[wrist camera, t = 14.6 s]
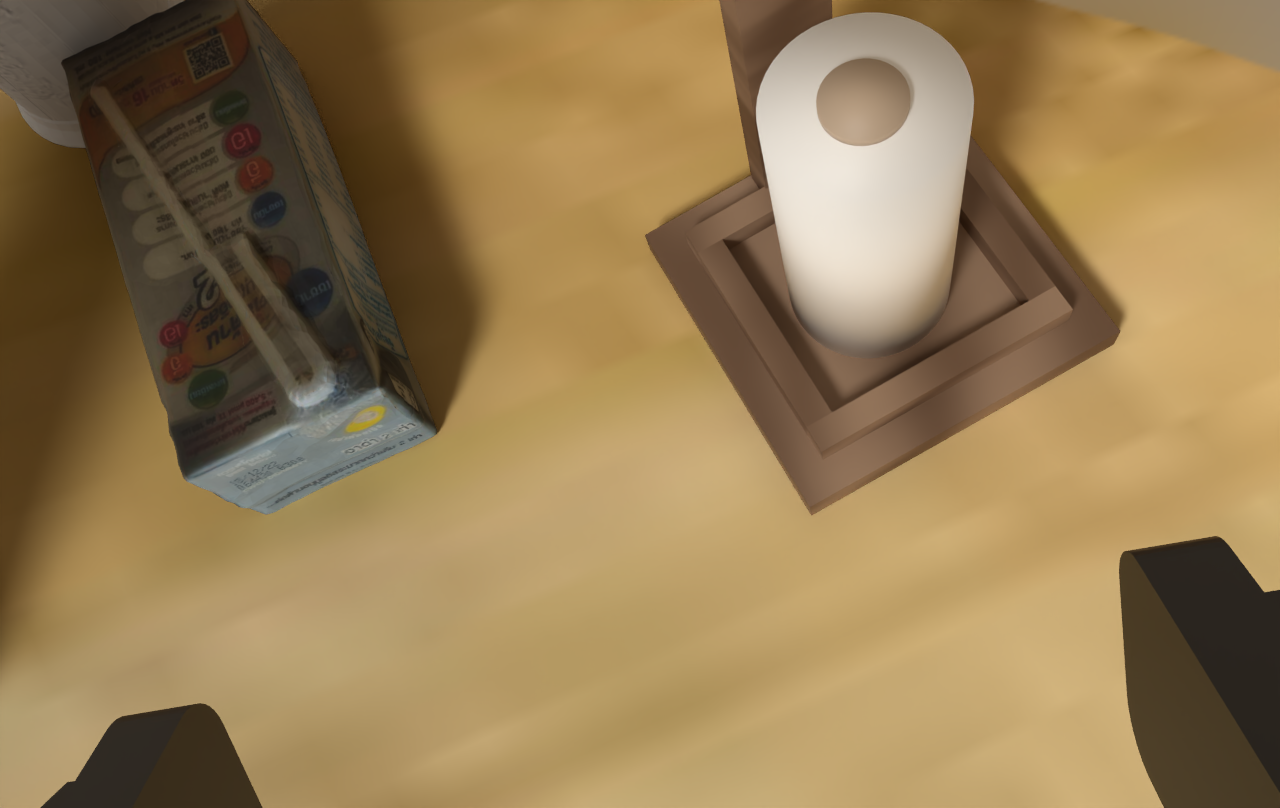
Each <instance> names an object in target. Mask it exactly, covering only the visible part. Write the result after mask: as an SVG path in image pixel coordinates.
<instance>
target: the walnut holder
mask: <svg viewBox="0 0 1280 808" xmlns="http://www.w3.org/2000/svg"><path fill="white" fill-rule="evenodd" d="M720 6H721V11H722V17H723V23H724V28H725V34H726V39H727V45H728V50H729V56H730V61H731V67H732V72H733V78H734V83H735V89H736V94H737V100H738V105H739V111H740V116H741V122H742V127H743V133H744V138H745V144H746V149H747V155H748V160H749V166H750V171H751V176H749V177H747V178H745V179H743V180H742V181H740V182H738V183H736V184H735V185H733V186H731V187H729V188H728V189H726V190H724V191H722V192H720V193H719V194H717V195H715V196H713V197H712V198H710V199H708V200H706V201H705V202H703V203H701V204H699V205H697V206H696V207H694V208H692V209H690V210H689V211H687V212H685V213H683V214H682V215H680V216H678V217H676V218H674V219H673V220H671V221H669V222H667V223H666V224H664V225H662V226H660V227H659V228H657V229H655V230H653V231H651V232H650V233H648V234H646V235H645V237H646V239H647V242H648V245H649V247H650V250H651V251H652V253H653V255H654V256H655V258H656V260H657V261H658V263H659V265H660V266H661V268H662V269H663V271H664V273H665V274H666V276H667V278H668V279H669V281H670V283H671V284H672V286H673V288H674V289H675V291H676V293H677V294H678V296H679V298H680V299H681V301H682V302H683V304H684V306H685V307H686V309H687V311H688V312H689V314H690V316H691V317H692V319H693V321H694V322H695V324H696V326H697V327H698V329H699V331H700V332H701V334H702V335H703V337H704V339H705V340H706V342H707V344H708V345H709V347H710V349H711V350H712V352H713V354H714V355H715V357H716V359H717V360H718V362H719V364H720V365H721V367H722V369H723V370H724V372H725V373H726V375H727V377H728V378H729V380H730V382H731V383H732V385H733V387H734V388H735V390H736V392H737V393H738V395H739V397H740V398H741V400H742V402H743V403H744V405H745V406H746V408H747V410H748V411H749V413H750V415H751V416H752V418H753V420H754V421H755V423H756V425H757V426H758V428H759V430H760V431H761V433H762V435H763V436H764V438H765V439H766V441H767V443H768V444H769V446H770V448H771V449H772V451H773V453H774V454H775V456H776V458H777V459H778V461H779V463H780V464H781V466H782V468H783V469H784V471H785V473H786V474H787V476H788V477H789V479H790V481H791V482H792V484H793V486H794V487H795V489H796V491H797V492H798V494H799V496H800V497H801V499H802V501H803V502H804V504H805V506H806V507H807V509H808V510H809V512H810V514H811V515H813V514H815V513H817V512H818V511H820V510H822V509H824V508H825V507H827V506H829V505H831V504H832V503H834V502H836V501H838V500H840V499H841V498H843V497H845V496H847V495H848V494H850V493H852V492H854V491H855V490H857V489H859V488H861V487H862V486H864V485H866V484H868V483H870V482H871V481H873V480H875V479H877V478H878V477H880V476H882V475H884V474H885V473H887V472H889V471H891V470H892V469H894V468H896V467H898V466H900V465H901V464H903V463H905V462H907V461H908V460H910V459H912V458H914V457H915V456H917V455H919V454H921V453H923V452H924V451H926V450H928V449H930V448H931V447H933V446H935V445H937V444H938V443H940V442H942V441H944V440H945V439H947V438H949V437H951V436H953V435H954V434H956V433H958V432H960V431H961V430H963V429H965V428H967V427H968V426H970V425H972V424H974V423H975V422H977V421H979V420H981V419H983V418H984V417H986V416H988V415H990V414H991V413H993V412H995V411H997V410H998V409H1000V408H1002V407H1004V406H1005V405H1007V404H1009V403H1011V402H1013V401H1014V400H1016V399H1018V398H1020V397H1021V396H1023V395H1025V394H1027V393H1028V392H1030V391H1032V390H1034V389H1035V388H1037V387H1039V386H1041V385H1043V384H1044V383H1046V382H1048V381H1050V380H1051V379H1053V378H1055V377H1057V376H1058V375H1060V374H1062V373H1064V372H1065V371H1067V370H1069V369H1071V368H1073V367H1074V366H1076V365H1078V364H1080V363H1081V362H1083V361H1085V360H1087V359H1088V358H1090V357H1092V356H1094V355H1095V354H1097V353H1099V352H1101V351H1103V350H1104V349H1106V348H1108V347H1110V346H1111V345H1113V344H1114V342H1115V341H1116V339H1117V337H1118V335H1119V333H1120V330H1119V329H1118V328H1117V326H1116V325H1115V324H1114V322H1113V321H1112V320H1111V319H1110V317H1109V316H1108V315H1107V313H1106V312H1105V311H1104V309H1103V308H1102V307H1101V305H1100V304H1099V303H1098V302H1097V300H1096V299H1095V298H1094V296H1093V295H1092V294H1091V292H1090V291H1089V290H1088V288H1087V287H1086V286H1085V284H1084V283H1083V282H1082V281H1081V279H1080V278H1079V277H1078V275H1077V274H1076V273H1075V271H1074V270H1073V269H1072V267H1071V266H1070V265H1069V264H1068V262H1067V261H1066V260H1065V258H1064V257H1063V256H1062V254H1061V253H1060V252H1059V250H1058V249H1057V248H1056V246H1055V245H1054V244H1053V243H1052V241H1051V240H1050V239H1049V237H1048V236H1047V235H1046V233H1045V232H1044V231H1043V229H1042V228H1041V227H1040V226H1039V224H1038V223H1037V222H1036V220H1035V219H1034V218H1033V216H1032V215H1031V214H1030V212H1029V211H1028V210H1027V208H1026V207H1025V206H1024V205H1023V203H1022V202H1021V201H1020V199H1019V198H1018V197H1017V195H1016V194H1015V193H1014V191H1013V190H1012V189H1011V187H1010V186H1009V185H1008V184H1007V182H1006V181H1005V180H1004V178H1003V177H1002V176H1001V174H1000V173H999V172H998V170H997V169H996V168H995V167H994V165H993V164H992V163H991V161H990V160H989V159H988V157H987V156H986V155H985V153H984V152H983V151H982V149H981V148H980V147H979V146H978V144H977V143H976V142H975V140H974V139H973V138H972V136H971V135H970V142H969V149H968V157H967V164H966V172H965V179H964V187H963V194H962V202H961V209H960V217H959V224H958V232H957V239H956V247H955V254H954V262H953V270H952V277H951V285H950V292H949V297H948V301H947V305H946V307H945V310H944V312H943V314H942V316H941V318H940V320H939V321H938V323H937V324H936V325H935V327H934V328H933V329H932V330H931V331H930V332H929V333H928V334H927V335H926V336H925V337H924V338H923V339H922V340H920V341H919V342H918V343H916V344H915V345H913V346H911V347H910V348H908V349H906V350H904V351H901V352H899V353H896V354H893V355H890V356H885V357H879V358H855V357H850V356H845V355H842V354H839V353H836V352H834V351H832V350H830V349H827V348H826V347H824V346H823V345H821V344H819V343H818V342H817V341H815V340H814V339H813V338H812V337H811V336H810V335H809V334H808V333H807V332H806V331H805V330H804V329H803V327H802V326H801V324H800V323H799V321H798V320H797V318H796V316H795V314H794V311H793V308H792V305H791V302H790V296H789V291H788V286H787V281H786V275H785V270H784V265H783V260H782V254H781V249H780V244H779V239H778V233H777V228H776V223H775V218H774V212H773V207H772V202H771V197H770V191H769V186H768V181H767V176H766V170H765V165H764V160H763V155H762V149H761V144H760V139H759V134H758V128H757V122H756V105H757V97H758V93H759V89H760V85H761V83H762V81H763V78H764V76H765V73H766V72H767V70H768V68H769V67H770V65H771V63H772V62H773V60H774V59H775V58H776V57H777V55H778V54H779V53H780V52H781V51H782V50H783V49H784V48H785V47H786V46H787V45H788V44H789V43H790V42H791V41H792V40H794V39H795V38H796V37H797V36H799V35H800V34H801V33H803V32H805V31H806V30H808V29H810V28H811V27H813V26H815V25H818V24H820V23H822V22H824V21H827V20H830V19H832V0H720Z"/></svg>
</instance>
